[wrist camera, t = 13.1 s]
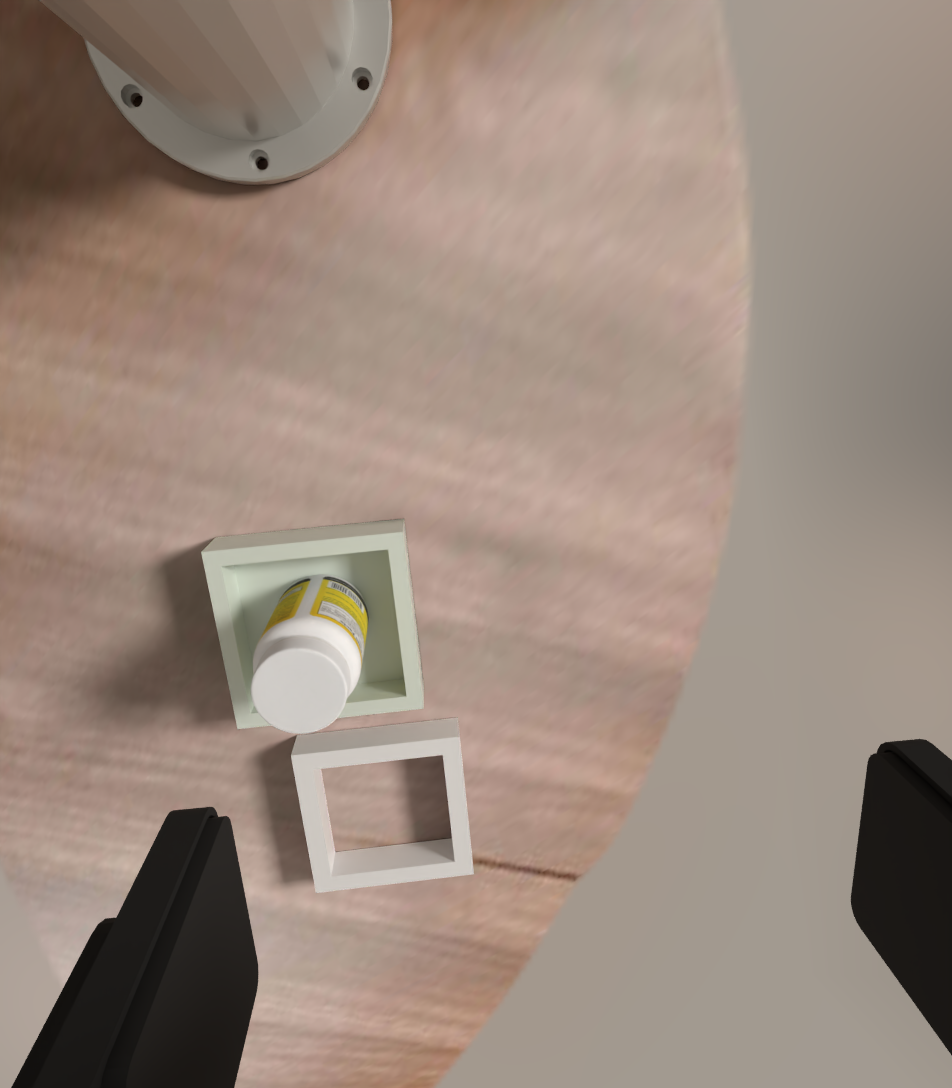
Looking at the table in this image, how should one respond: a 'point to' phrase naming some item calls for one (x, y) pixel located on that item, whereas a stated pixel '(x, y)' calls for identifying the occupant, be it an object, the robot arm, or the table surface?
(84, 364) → the table surface
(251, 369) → the table surface
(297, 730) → the supplement bottle
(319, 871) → the collar holder
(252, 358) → the table surface
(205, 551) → the tray
